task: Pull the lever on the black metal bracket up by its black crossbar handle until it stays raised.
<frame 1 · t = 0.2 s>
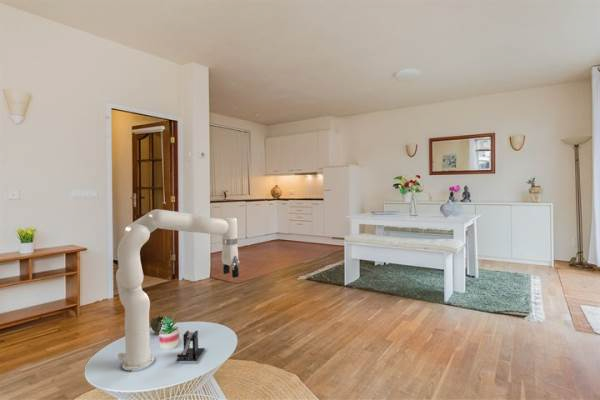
hand: (230, 275, 173), 31 cm above the table, tool pointing down, fingers open, 9 cm apart
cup: (158, 334, 177), on the table
bracket: (191, 356, 152), on the table
lever: (187, 345, 147), point 7 cm above the table, hinge at -25.0°
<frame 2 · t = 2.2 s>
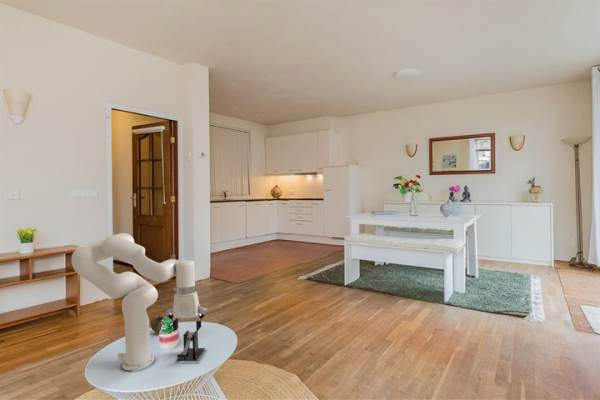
hand: (187, 329, 144), 15 cm above the table, tool pointing down, fingers open, 9 cm apart
nothing on the table moved.
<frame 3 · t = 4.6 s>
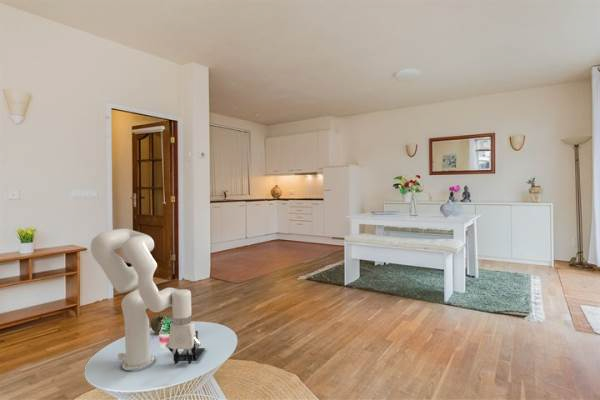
hand: (183, 362, 143), 2 cm above the table, tool pointing down, fingers closed on lever, 5 cm apart
lever: (187, 345, 147), point 7 cm above the table, hinge at -25.1°, touching gripper
everything else where it was.
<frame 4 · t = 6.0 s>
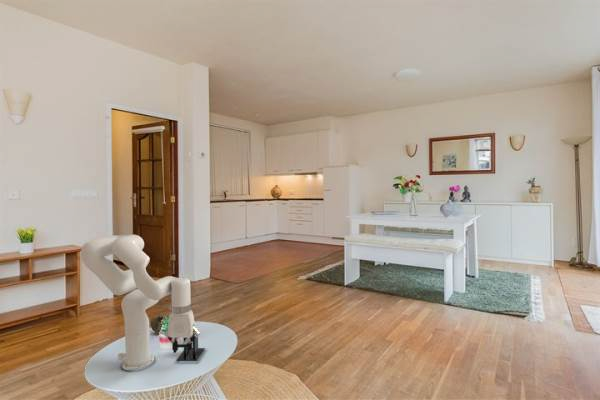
hand: (182, 351, 142), 7 cm above the table, tool pointing down, fingers closed on lever, 5 cm apart
lever: (187, 340, 147), point 9 cm above the table, hinge at 3.0°, touching gripper
everything else where it was.
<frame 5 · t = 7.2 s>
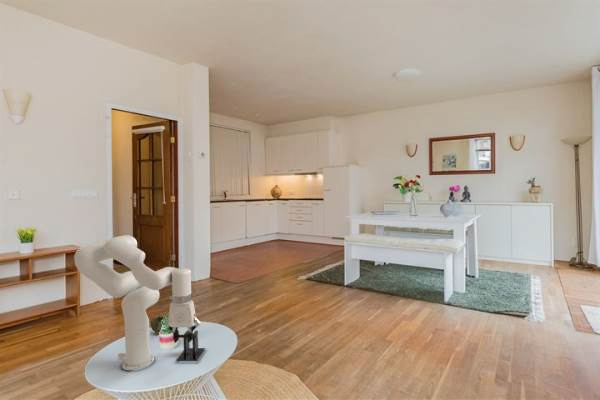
hand: (183, 340, 143), 11 cm above the table, tool pointing down, fingers closed on lever, 5 cm apart
lever: (187, 336, 147), point 11 cm above the table, hinge at 24.9°, touching gripper
everything else where it was.
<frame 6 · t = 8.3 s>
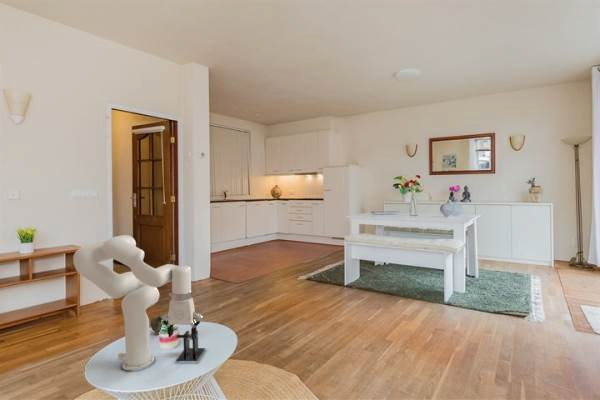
hand: (182, 336, 143), 13 cm above the table, tool pointing down, fingers open, 9 cm apart
lever: (187, 336, 147), point 11 cm above the table, hinge at 24.5°
everything else where it was.
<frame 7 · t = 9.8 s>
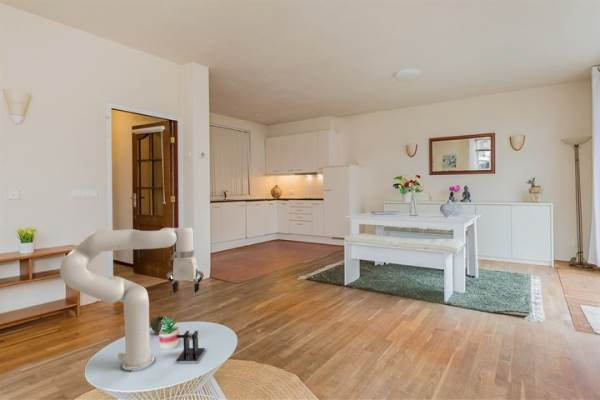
hand: (186, 291, 154), 28 cm above the table, tool pointing down, fingers open, 9 cm apart
nothing on the table moved.
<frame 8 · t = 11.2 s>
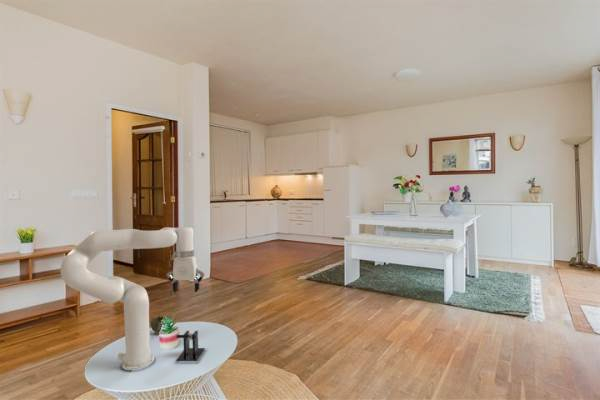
hand: (186, 291, 155), 28 cm above the table, tool pointing down, fingers open, 9 cm apart
nothing on the table moved.
at the end: lever at +24° (first picture: -25°) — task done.
